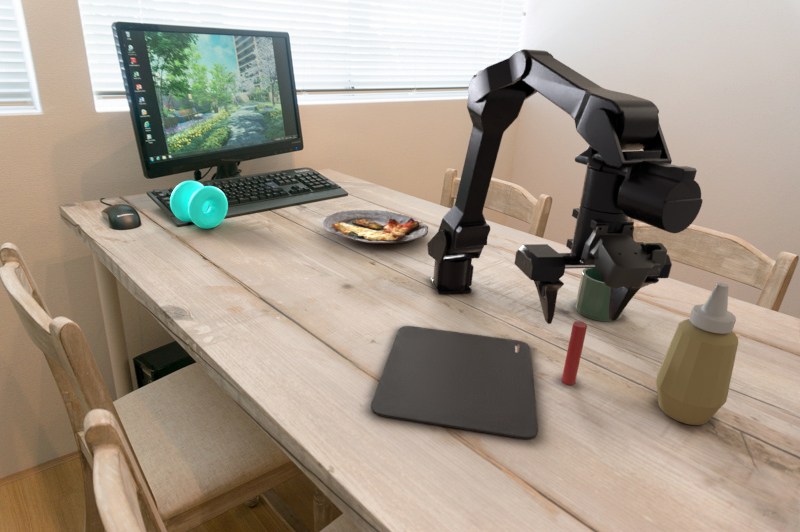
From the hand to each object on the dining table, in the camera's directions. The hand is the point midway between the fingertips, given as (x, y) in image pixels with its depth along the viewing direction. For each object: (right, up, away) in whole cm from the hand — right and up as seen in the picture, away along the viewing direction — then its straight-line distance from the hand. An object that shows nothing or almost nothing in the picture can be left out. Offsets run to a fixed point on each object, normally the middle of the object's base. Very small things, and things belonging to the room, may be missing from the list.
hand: (580, 321), depth 70 cm
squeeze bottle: (+13, -12, -1) cm, 17 cm away
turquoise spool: (-71, +17, +57) cm, 93 cm away
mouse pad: (-16, -8, +3) cm, 18 cm away
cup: (+12, -1, +25) cm, 27 cm away
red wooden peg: (0, -9, +3) cm, 9 cm away
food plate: (-32, +16, +53) cm, 64 cm away
